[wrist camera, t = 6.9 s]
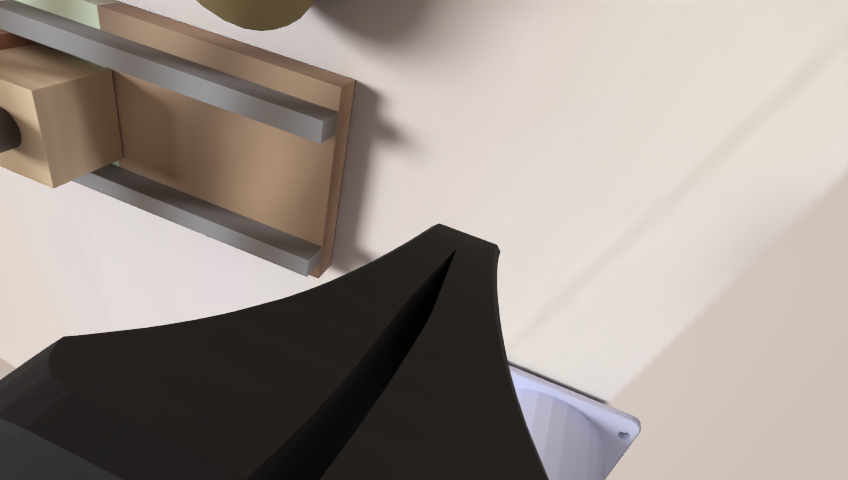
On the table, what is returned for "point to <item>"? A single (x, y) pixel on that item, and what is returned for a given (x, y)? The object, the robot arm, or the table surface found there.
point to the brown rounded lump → (258, 12)
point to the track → (208, 126)
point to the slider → (55, 115)
